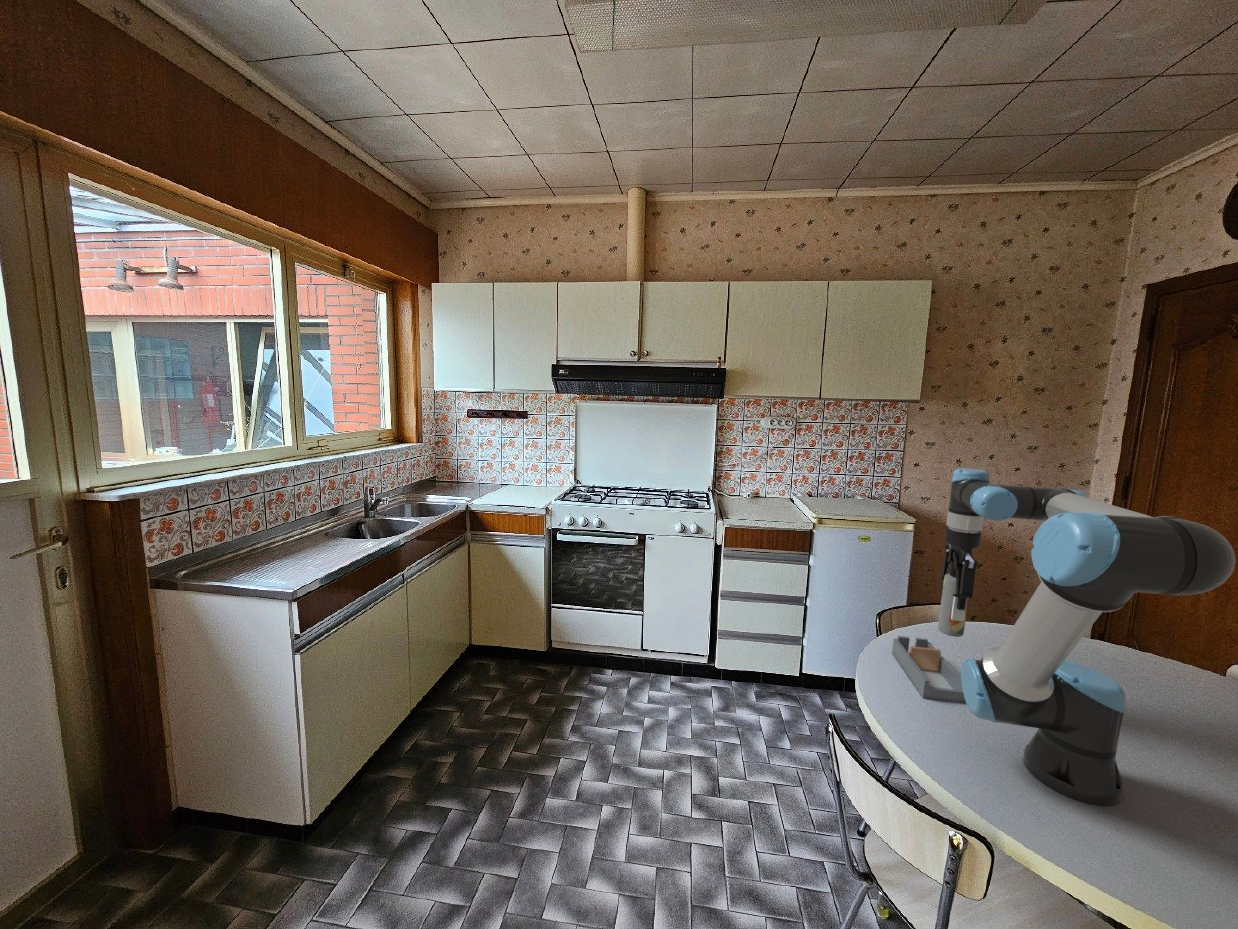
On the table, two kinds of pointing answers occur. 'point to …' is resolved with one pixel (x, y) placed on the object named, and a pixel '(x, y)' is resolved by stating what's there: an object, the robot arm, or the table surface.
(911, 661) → the tray
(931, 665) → the pusher
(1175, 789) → the table surface
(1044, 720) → the robot arm
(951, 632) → the lotion bottle
